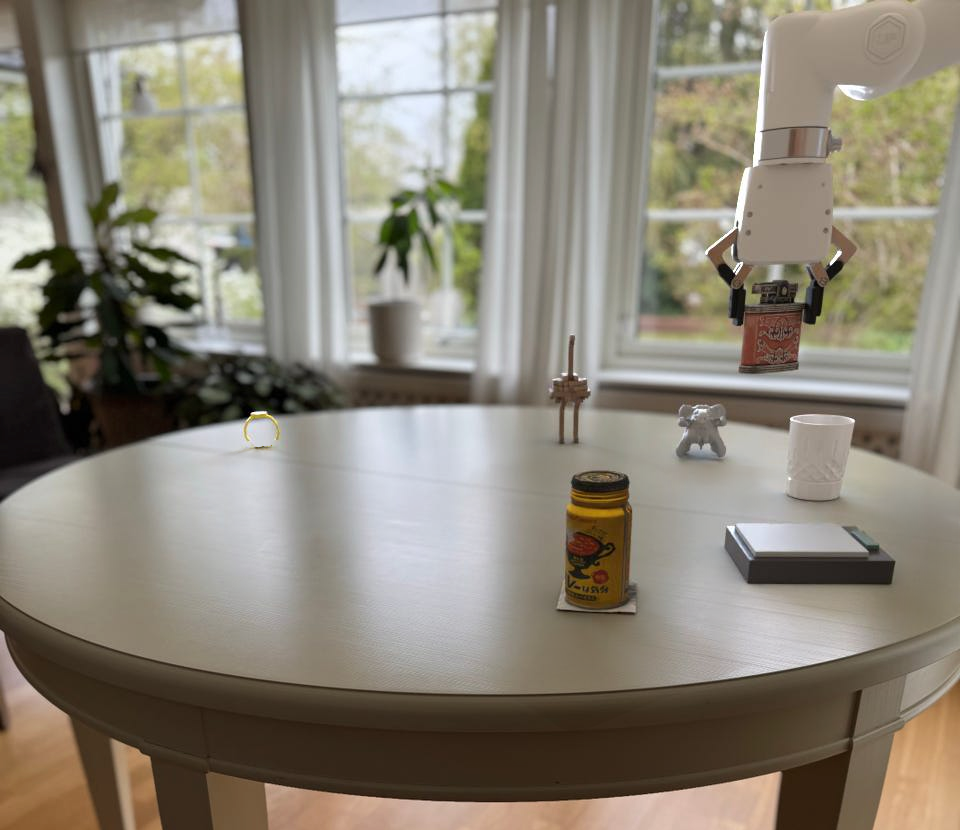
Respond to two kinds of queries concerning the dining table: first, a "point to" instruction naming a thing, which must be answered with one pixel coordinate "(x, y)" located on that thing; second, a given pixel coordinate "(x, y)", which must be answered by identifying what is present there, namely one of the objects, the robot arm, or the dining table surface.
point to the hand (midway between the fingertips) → (773, 323)
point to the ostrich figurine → (569, 392)
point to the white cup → (817, 455)
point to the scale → (807, 554)
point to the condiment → (598, 545)
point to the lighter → (772, 329)
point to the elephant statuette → (702, 428)
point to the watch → (260, 415)
